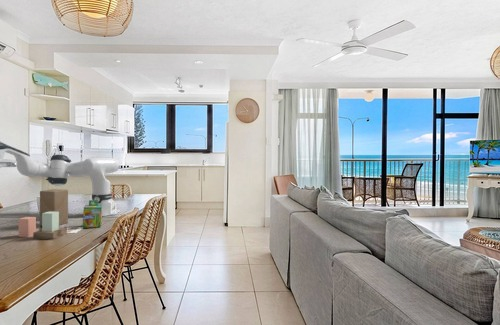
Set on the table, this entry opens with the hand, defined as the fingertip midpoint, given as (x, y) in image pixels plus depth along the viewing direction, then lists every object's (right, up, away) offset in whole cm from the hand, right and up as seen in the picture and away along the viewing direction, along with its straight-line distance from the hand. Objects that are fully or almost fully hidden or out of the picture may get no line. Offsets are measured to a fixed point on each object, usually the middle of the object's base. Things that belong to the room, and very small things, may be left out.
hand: (7, 165), depth 161 cm
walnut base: (+30, -36, -10) cm, 48 cm away
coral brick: (+18, -35, -10) cm, 41 cm away
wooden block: (+16, -35, +14) cm, 41 cm away
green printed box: (+40, -35, +12) cm, 54 cm away
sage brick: (+30, -33, -10) cm, 46 cm away
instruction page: (+33, -35, +2) cm, 49 cm away
